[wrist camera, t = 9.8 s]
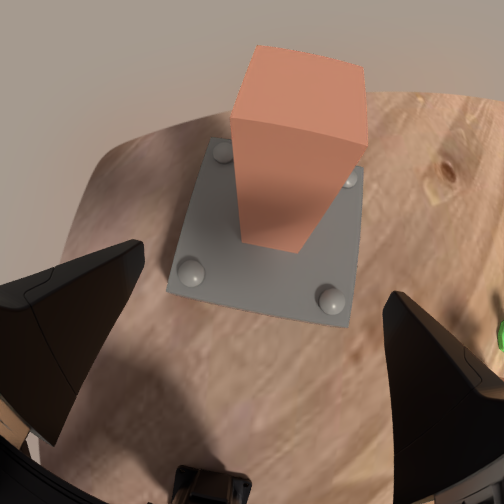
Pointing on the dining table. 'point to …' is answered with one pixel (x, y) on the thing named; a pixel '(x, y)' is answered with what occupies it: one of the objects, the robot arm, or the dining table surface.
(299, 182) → the pillar brick
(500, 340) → the game piece
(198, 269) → the base brick
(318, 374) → the dining table surface
